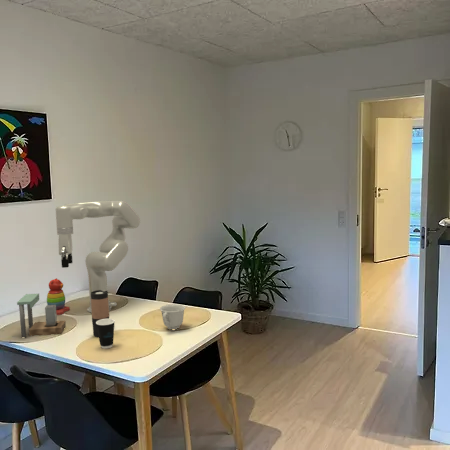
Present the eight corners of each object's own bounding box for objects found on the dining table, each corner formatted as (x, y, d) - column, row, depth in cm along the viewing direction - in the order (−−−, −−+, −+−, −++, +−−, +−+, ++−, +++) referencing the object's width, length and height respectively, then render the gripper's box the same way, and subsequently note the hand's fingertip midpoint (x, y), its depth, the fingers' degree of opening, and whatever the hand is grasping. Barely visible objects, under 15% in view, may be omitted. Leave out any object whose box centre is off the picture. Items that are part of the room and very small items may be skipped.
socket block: (65, 326, 226) (65, 320, 226) (61, 334, 216) (60, 327, 215) (35, 328, 224) (35, 322, 224) (29, 336, 214) (29, 329, 214)
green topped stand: (41, 326, 226) (39, 293, 224) (33, 337, 213) (31, 301, 211) (28, 327, 226) (25, 294, 224) (19, 338, 212) (17, 302, 210)
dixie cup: (109, 350, 194) (107, 325, 193) (93, 348, 197) (91, 323, 196) (120, 344, 202) (118, 319, 200) (104, 342, 204) (103, 317, 203)
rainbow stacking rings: (61, 315, 244) (59, 281, 242) (43, 314, 246) (41, 281, 244) (71, 309, 255) (69, 277, 253) (54, 308, 256) (51, 276, 254)
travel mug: (94, 338, 208) (92, 295, 206) (91, 333, 215) (88, 291, 213) (112, 335, 212) (109, 292, 210) (108, 330, 219) (105, 289, 216)
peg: (57, 329, 223) (55, 304, 221) (55, 332, 219) (54, 307, 217) (48, 329, 222) (47, 305, 221) (46, 332, 218) (45, 307, 217)
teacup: (152, 333, 214) (151, 312, 213) (167, 323, 228) (167, 303, 227) (176, 336, 210) (175, 314, 209) (190, 325, 224) (189, 305, 222)
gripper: (60, 229, 237) (63, 262, 239) (53, 233, 220) (55, 269, 222) (76, 228, 238) (78, 261, 240) (69, 233, 221) (71, 268, 223)
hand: (67, 265), depth 231 cm, fingers open, 9 cm apart
